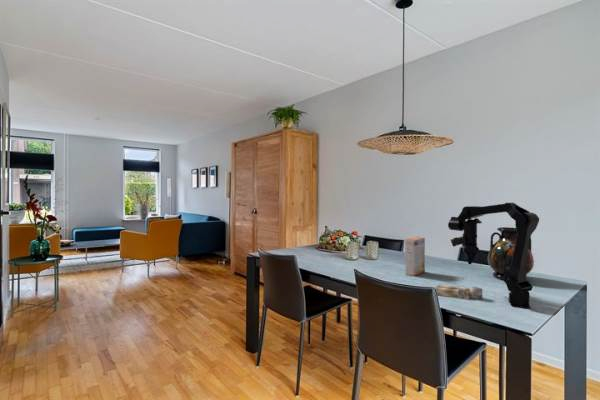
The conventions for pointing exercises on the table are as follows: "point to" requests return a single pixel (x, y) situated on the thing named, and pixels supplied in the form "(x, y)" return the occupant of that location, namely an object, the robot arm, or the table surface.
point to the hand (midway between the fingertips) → (469, 264)
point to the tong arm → (473, 291)
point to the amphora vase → (506, 252)
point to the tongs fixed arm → (453, 292)
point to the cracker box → (415, 256)
